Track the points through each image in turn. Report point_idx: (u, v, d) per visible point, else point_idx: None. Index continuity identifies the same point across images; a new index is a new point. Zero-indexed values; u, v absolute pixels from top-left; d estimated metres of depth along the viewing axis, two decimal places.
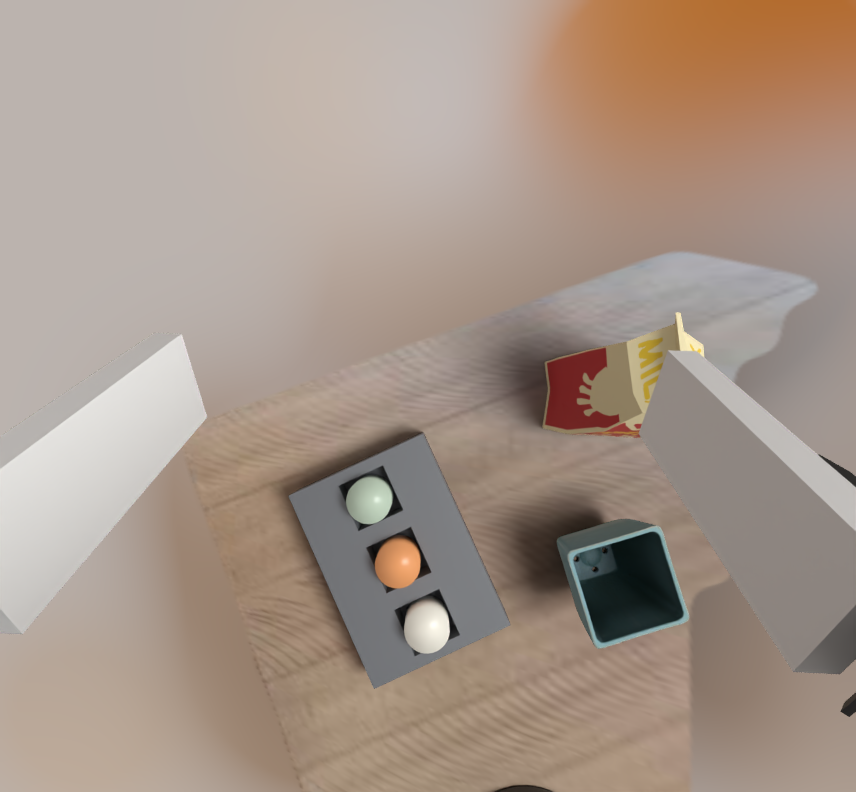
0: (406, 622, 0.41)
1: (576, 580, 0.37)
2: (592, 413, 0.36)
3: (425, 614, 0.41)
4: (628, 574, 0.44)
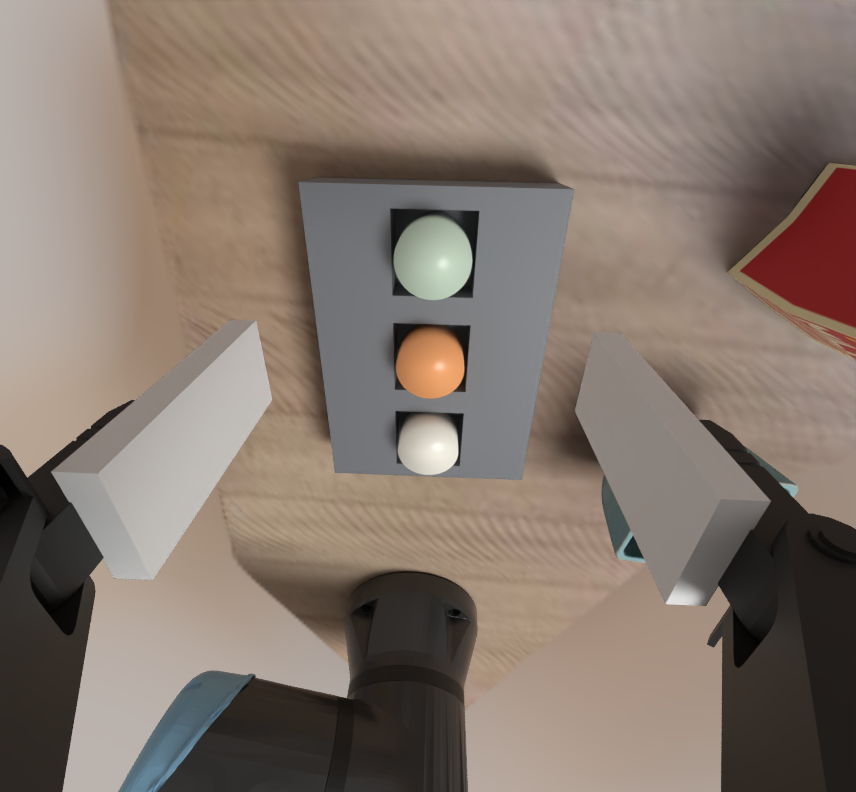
0: (407, 434, 0.30)
1: None
2: None
3: (435, 436, 0.30)
4: None
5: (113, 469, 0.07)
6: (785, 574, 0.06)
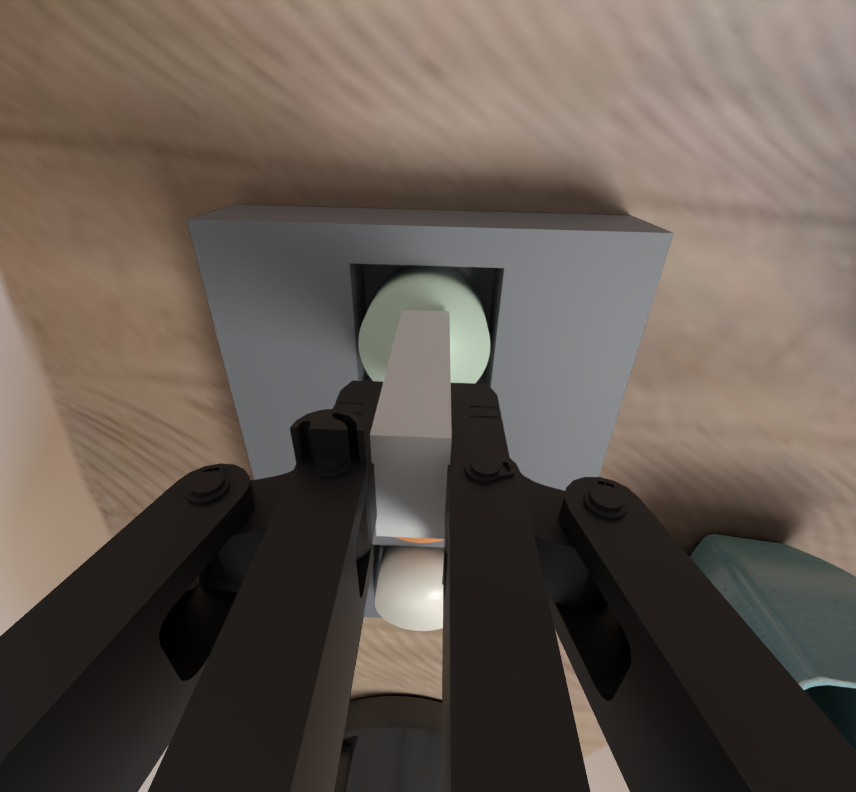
0: (388, 585, 0.20)
1: None
2: None
3: (430, 588, 0.20)
4: None
5: None
6: (448, 511, 0.07)
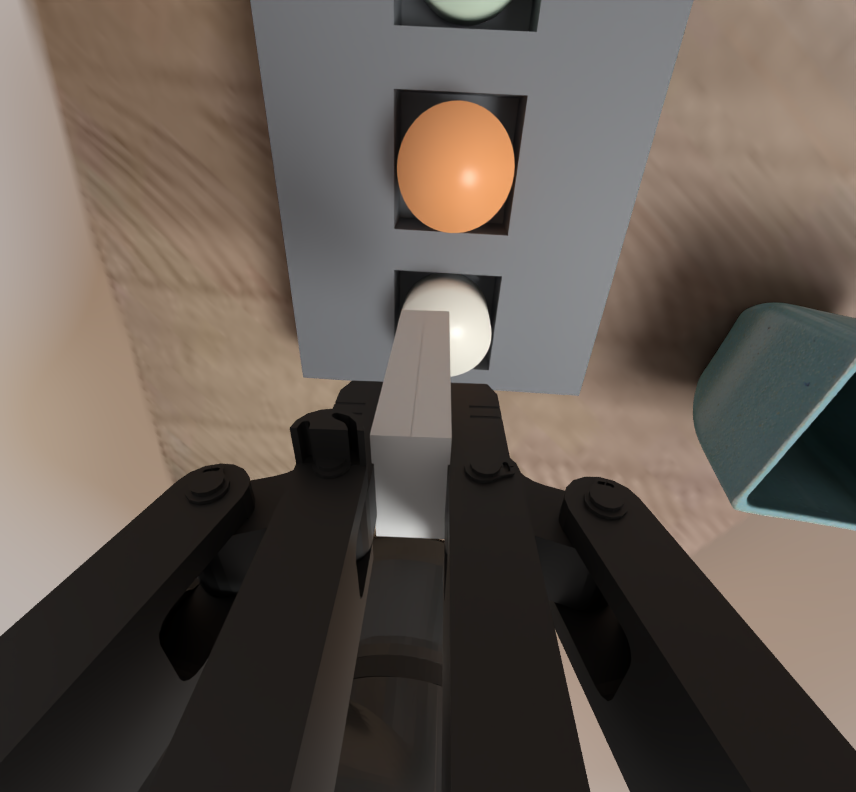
0: (412, 303, 0.19)
1: (825, 400, 0.16)
2: None
3: (457, 308, 0.19)
4: None
5: None
6: (448, 511, 0.07)
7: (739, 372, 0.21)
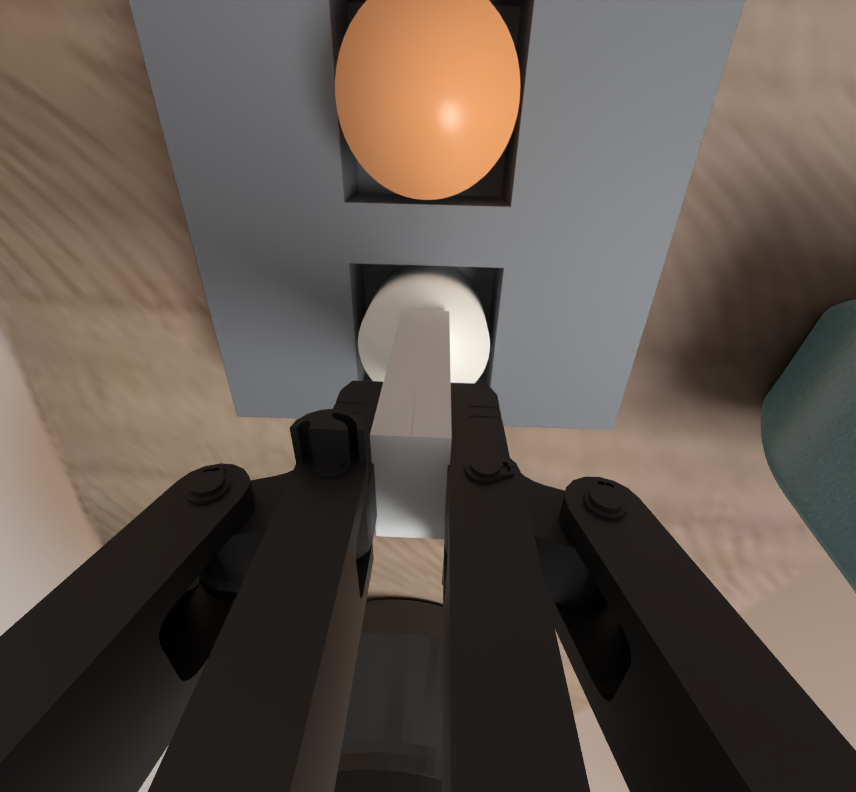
0: (377, 304, 0.13)
1: None
2: None
3: (440, 308, 0.13)
4: None
5: None
6: (448, 511, 0.07)
7: (841, 393, 0.15)
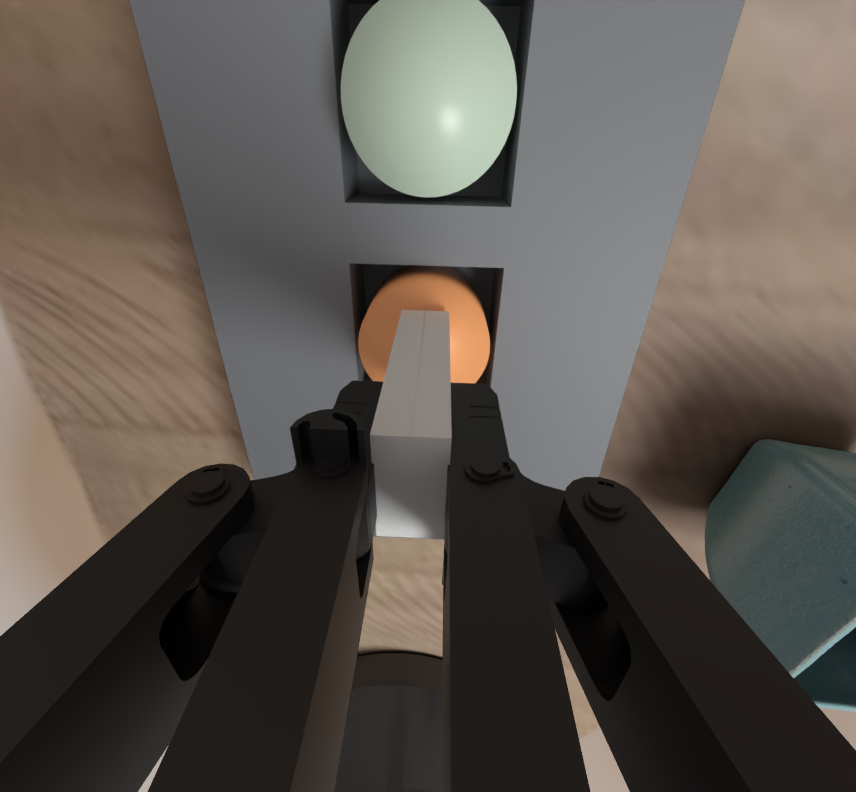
0: None
1: None
2: None
3: None
4: None
5: None
6: (448, 511, 0.07)
7: (757, 528, 0.18)
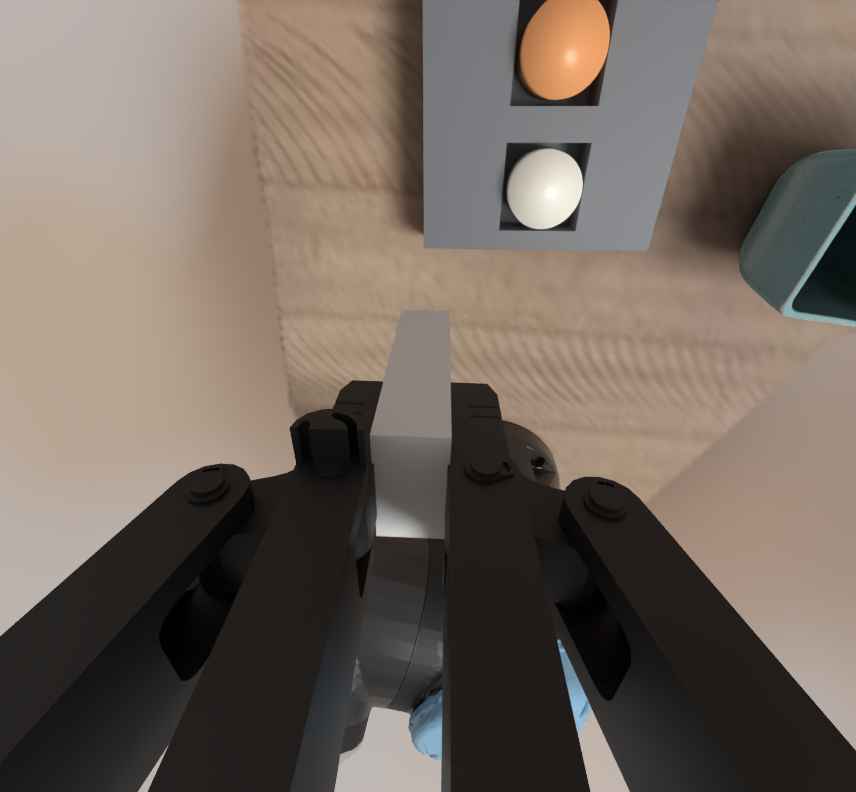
0: (523, 163, 0.25)
1: (853, 202, 0.21)
2: None
3: (557, 164, 0.25)
4: (822, 267, 0.30)
5: None
6: (448, 511, 0.07)
7: (780, 216, 0.26)
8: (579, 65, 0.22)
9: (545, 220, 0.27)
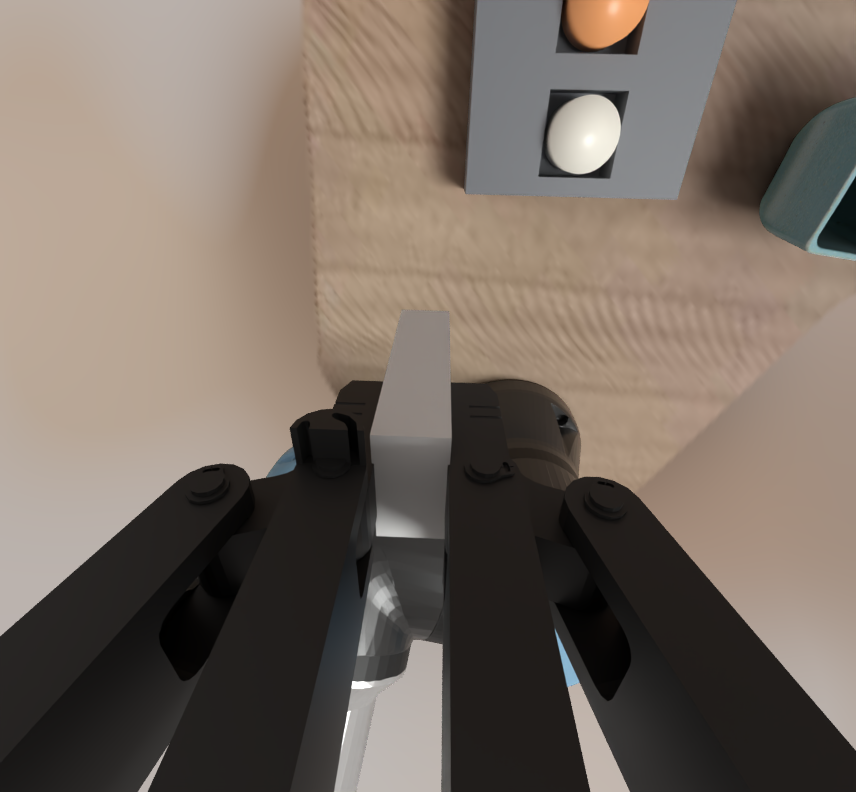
0: (566, 107, 0.27)
1: None
2: None
3: (598, 109, 0.27)
4: (836, 222, 0.32)
5: None
6: (448, 511, 0.07)
7: (801, 164, 0.28)
8: (623, 12, 0.24)
9: (583, 165, 0.28)
